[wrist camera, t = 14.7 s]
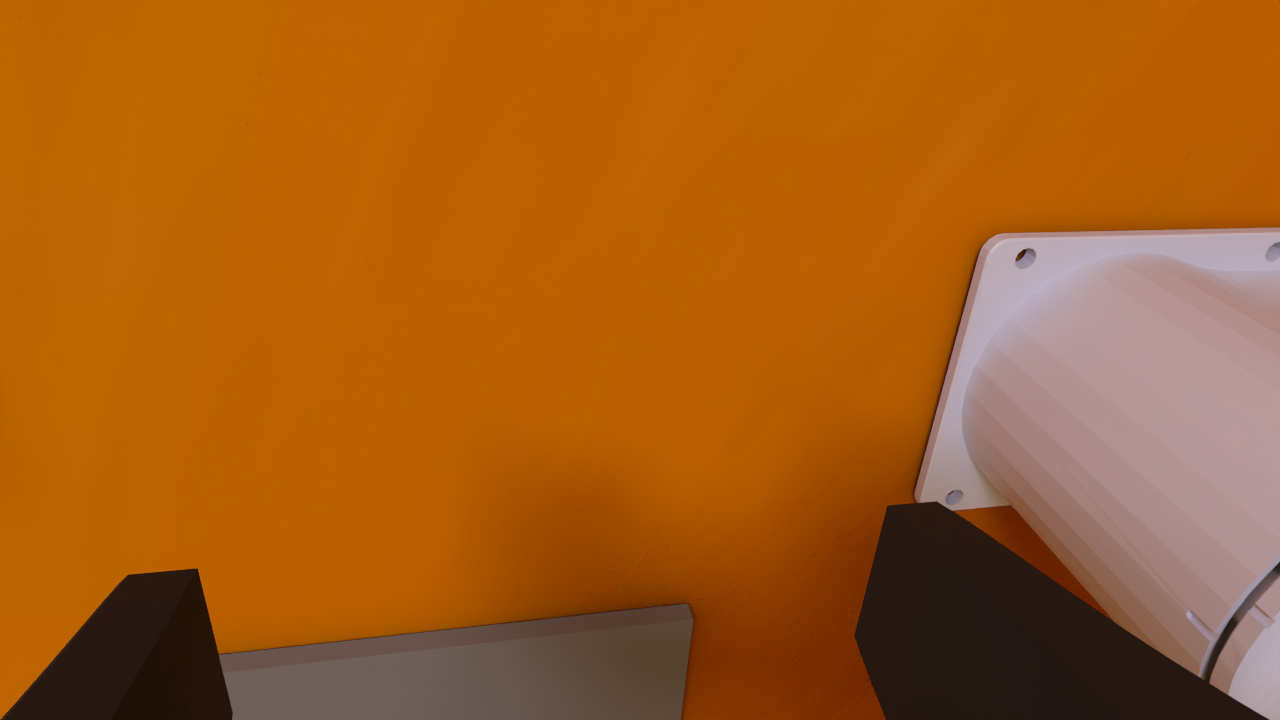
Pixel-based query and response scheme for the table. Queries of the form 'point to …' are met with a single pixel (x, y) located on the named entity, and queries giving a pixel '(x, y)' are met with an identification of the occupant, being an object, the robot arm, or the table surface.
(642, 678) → the charcoal mat
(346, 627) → the table surface
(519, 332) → the table surface
